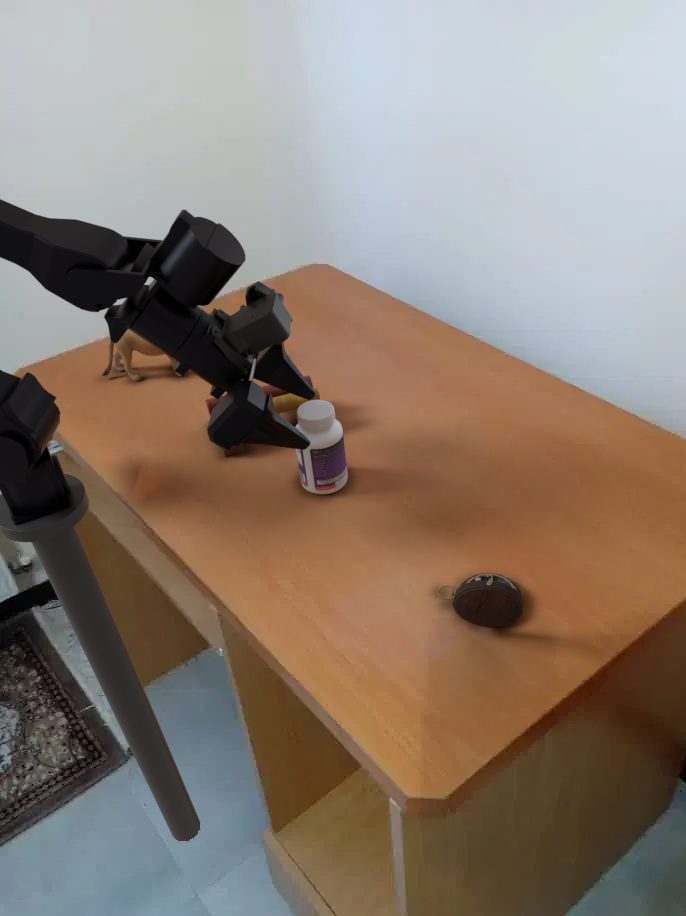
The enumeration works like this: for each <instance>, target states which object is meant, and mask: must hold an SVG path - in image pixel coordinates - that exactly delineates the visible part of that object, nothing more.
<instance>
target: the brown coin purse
mask: <svg viewBox="0 0 686 916" xmlns="http://www.w3.org/2000/svg"><path fill="white" fill-rule="evenodd" d="M446 587H447V588H451V589H452V590H450V596H452V597H448V598H447V597H443V596H441V594H440V591H441V590H442V589H443V588H446ZM437 595H438V597H439V598H440V599H442V600H444V601H450V600H452V601H453V603H452V604H453V606H452V607H453V609H454V611H455V613H456V614H457V615H458V616H459V617H460V618H461V619H462V620H464V621H466V622H467V623H470V624H472V625H475V626H478V627H484V628H498V627H505V626H508V625H511V624H513V623H515V622H516V621H518V620H519V619H520V618H521V617H522V615H523V611H524V610H523V609H524V600H523V594H522V592H521V589H520V588H519V586H518V585H517V584H516V583H515V582H514V581H513V580H511V579H510V578H508V577H506V576H503V575H501V574H497V573H492V572H491V573H489V572H488V573H487V572H486V573H479V574H474V575H472V576H470V577H469V578H466V579H465V580H464V581H463V582H462V583H461V584H460V586H459V587H458V588H457V589H456V587H454V586H453V585H449V584H446V585H445V584H444V585H442V586H440V587H439V588H438V590H437Z"/></svg>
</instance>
